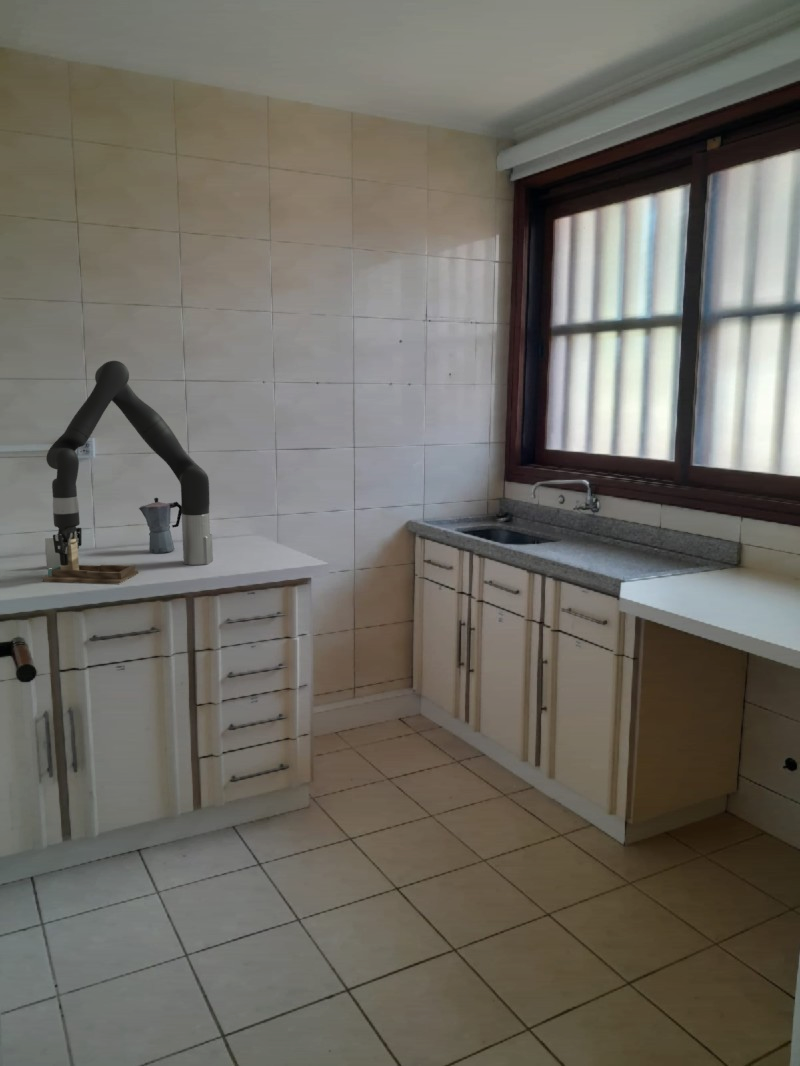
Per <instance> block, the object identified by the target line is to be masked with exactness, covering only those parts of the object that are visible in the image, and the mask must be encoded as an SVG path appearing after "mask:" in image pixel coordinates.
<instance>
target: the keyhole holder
mask: <svg viewBox="0 0 800 1066" xmlns="http://www.w3.org/2000/svg"><path fill="white" fill-rule="evenodd" d="M139 572H140V571H139V570H138V569H137V570H136V565H127V564H125V565H121V564H99V565H96V564H95V565H93V564H92V565H91V564H89V565H88V564H86V565H85V564H79V570H61V567H60V565H58V566H56V567H54V568H52V569H48V570H47V576H44V577H43V578H42V582H43V581H49V582H48V583H73V582H79V583H78V584H81V583H82V584H107V583H121V582H123V581H124V582H126V581H127V580H126V579H128V578H130V577H131V578H133V577H134V575H135V576H137V575H138V574H139ZM136 574H137V575H136ZM132 576H133V577H132ZM131 578H130V579H131ZM125 580H126V581H125ZM128 580H129V579H128ZM124 582H123V583H124ZM121 584H122V583H121Z"/></svg>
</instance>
